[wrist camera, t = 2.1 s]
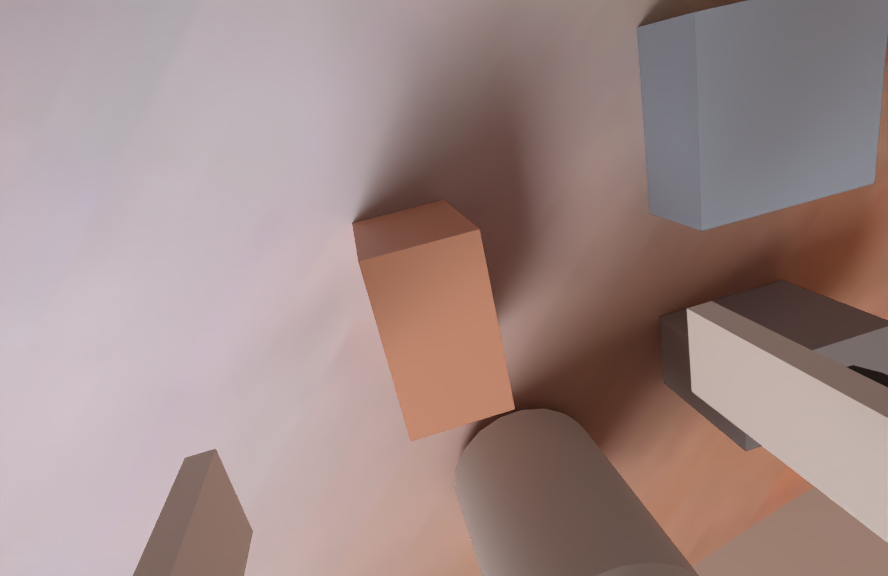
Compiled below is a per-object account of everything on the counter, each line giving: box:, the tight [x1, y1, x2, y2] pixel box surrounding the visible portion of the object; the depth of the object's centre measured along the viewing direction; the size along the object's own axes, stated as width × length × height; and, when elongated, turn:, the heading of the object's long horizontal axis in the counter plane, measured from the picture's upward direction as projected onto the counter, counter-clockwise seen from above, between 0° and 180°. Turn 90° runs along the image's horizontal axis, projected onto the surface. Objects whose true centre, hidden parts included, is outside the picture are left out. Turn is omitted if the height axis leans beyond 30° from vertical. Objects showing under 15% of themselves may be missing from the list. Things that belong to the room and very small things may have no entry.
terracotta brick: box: [352, 200, 515, 441], centre depth 21 cm, size 7×4×6 cm, turn 12°
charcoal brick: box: [660, 280, 888, 451], centre depth 25 cm, size 7×4×6 cm, turn 102°
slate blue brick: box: [637, 0, 888, 231], centre depth 22 cm, size 8×8×4 cm
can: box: [454, 409, 699, 576], centre depth 22 cm, size 8×8×12 cm
